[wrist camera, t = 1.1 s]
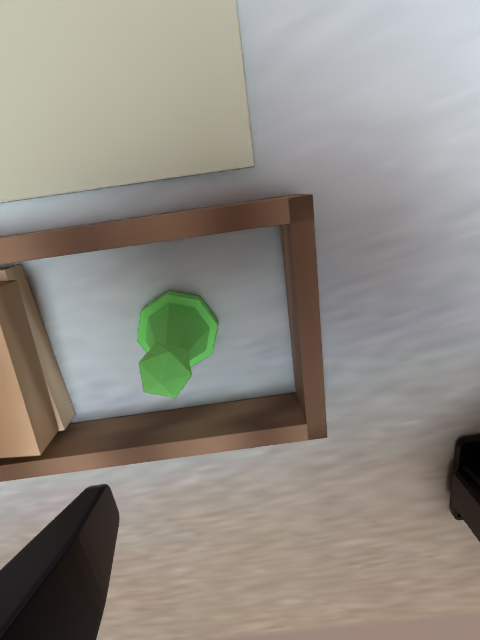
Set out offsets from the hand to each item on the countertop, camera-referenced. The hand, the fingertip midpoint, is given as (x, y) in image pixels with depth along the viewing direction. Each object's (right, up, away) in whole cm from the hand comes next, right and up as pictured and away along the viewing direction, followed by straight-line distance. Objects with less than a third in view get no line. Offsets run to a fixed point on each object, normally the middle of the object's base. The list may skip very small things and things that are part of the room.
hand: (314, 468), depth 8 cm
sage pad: (-9, +14, +7) cm, 18 cm away
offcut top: (-13, +1, +10) cm, 17 cm away
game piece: (-5, +3, +12) cm, 13 cm away
